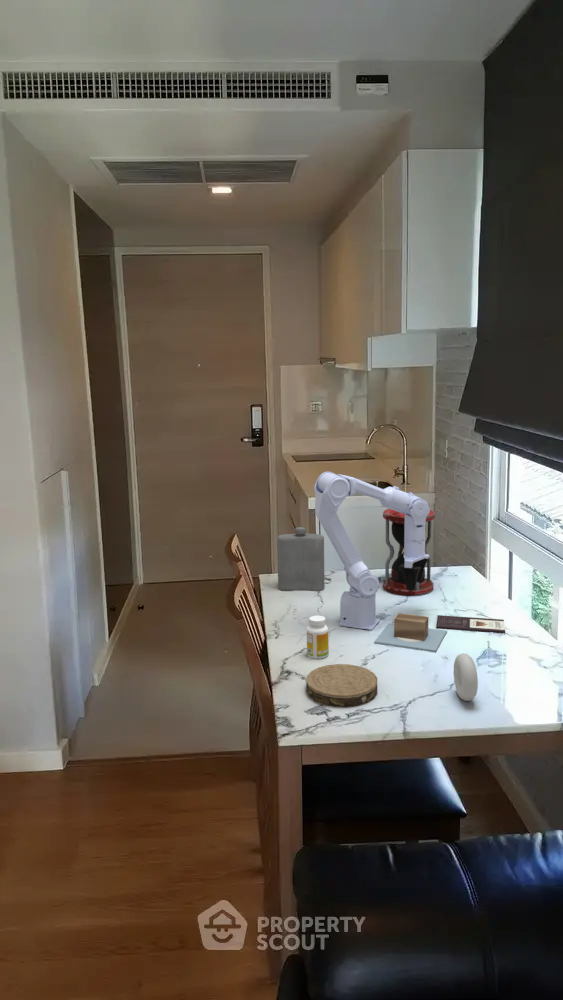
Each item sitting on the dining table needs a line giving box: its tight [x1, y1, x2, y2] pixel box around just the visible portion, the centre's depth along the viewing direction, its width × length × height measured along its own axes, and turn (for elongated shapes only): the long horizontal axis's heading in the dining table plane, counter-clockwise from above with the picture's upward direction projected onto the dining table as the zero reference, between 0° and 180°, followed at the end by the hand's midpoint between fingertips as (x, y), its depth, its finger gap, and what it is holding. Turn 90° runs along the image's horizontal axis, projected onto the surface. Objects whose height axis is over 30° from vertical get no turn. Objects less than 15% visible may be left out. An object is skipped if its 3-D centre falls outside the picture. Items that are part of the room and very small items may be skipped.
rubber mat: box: [373, 622, 448, 653], centre depth 187 cm, size 16×14×1 cm
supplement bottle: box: [306, 615, 330, 660], centre depth 177 cm, size 5×5×10 cm
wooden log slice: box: [305, 663, 378, 708], centre depth 159 cm, size 16×16×3 cm
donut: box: [453, 653, 479, 702], centre depth 153 cm, size 10×4×10 cm, turn 1°
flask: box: [276, 526, 326, 592], centre depth 228 cm, size 15×6×20 cm, turn 86°
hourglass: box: [382, 508, 436, 597], centre depth 225 cm, size 16×16×25 cm
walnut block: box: [393, 612, 430, 641], centre depth 187 cm, size 4×8×5 cm, turn 65°
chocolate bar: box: [435, 614, 506, 635], centre depth 195 cm, size 9×1×18 cm
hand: (414, 585), depth 200 cm, fingers open, 7 cm apart
